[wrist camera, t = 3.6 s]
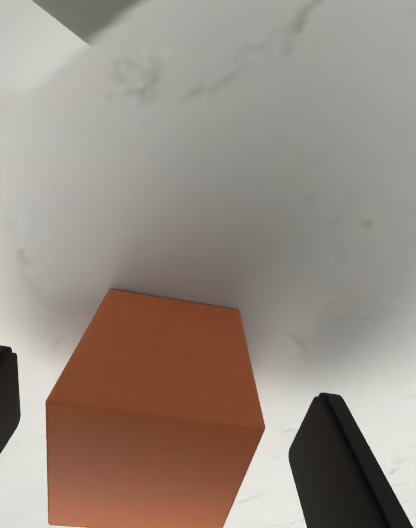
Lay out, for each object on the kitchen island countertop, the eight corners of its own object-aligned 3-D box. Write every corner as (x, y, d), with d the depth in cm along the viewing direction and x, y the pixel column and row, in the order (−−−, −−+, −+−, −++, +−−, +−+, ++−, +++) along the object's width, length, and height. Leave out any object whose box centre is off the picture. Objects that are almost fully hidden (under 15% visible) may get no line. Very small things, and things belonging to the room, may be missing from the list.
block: (101, 385, 11) (46, 526, 7) (109, 287, 10) (43, 401, 6) (212, 400, 12) (219, 539, 8) (239, 309, 10) (266, 428, 6)
